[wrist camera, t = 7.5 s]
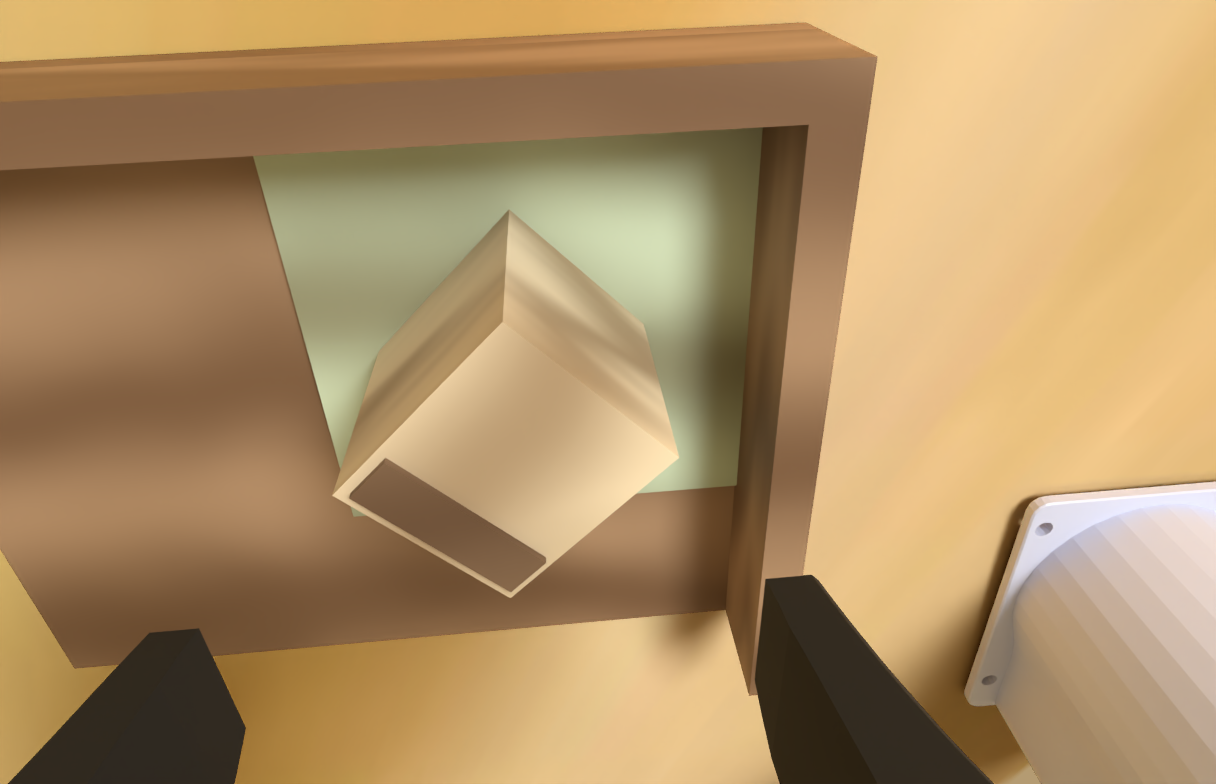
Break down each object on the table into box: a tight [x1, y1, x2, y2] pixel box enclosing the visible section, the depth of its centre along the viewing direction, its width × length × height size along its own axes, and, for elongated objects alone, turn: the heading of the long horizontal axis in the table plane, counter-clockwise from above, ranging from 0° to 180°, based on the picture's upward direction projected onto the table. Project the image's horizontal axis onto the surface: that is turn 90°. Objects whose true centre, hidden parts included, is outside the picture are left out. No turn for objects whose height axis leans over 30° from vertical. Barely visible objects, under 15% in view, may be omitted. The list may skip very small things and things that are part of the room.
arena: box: [0, 23, 877, 696], centre depth 18 cm, size 16×20×4 cm
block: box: [332, 210, 679, 598], centre depth 16 cm, size 4×4×5 cm
